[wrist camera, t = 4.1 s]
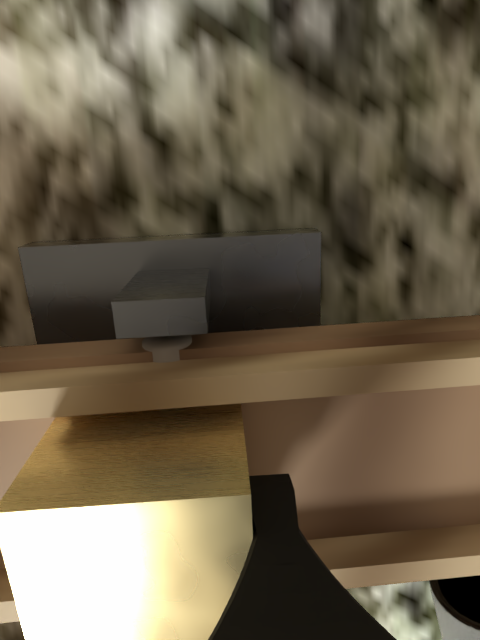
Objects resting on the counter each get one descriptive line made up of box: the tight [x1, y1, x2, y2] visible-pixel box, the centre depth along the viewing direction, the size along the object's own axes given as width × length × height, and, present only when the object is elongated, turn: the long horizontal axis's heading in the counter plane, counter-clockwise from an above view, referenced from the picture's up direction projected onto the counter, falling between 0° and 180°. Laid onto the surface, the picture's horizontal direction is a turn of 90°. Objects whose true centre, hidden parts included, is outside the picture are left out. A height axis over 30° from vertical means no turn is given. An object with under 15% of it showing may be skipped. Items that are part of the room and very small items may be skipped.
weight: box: [0, 403, 253, 640], centre depth 11 cm, size 5×5×4 cm
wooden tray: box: [0, 315, 480, 623], centre depth 13 cm, size 24×8×2 cm, turn 92°
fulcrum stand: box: [18, 228, 321, 345], centre depth 16 cm, size 10×13×5 cm
